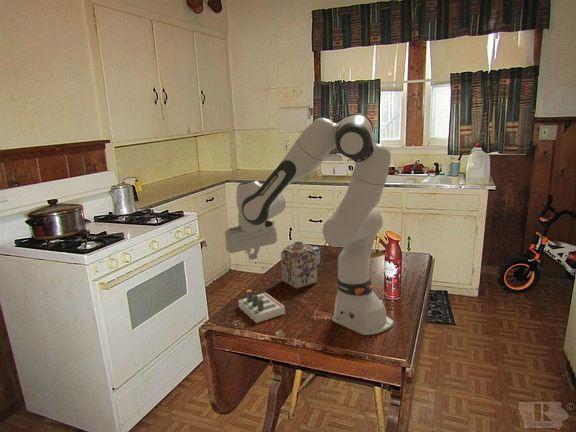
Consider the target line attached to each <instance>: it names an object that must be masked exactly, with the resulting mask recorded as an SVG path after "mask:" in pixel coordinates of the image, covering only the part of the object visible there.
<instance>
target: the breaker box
mask: <svg viewBox="0 0 576 432" xmlns="http://www.w3.org/2000/svg"><path fill="white" fill-rule="evenodd" d="M238 308H239V309H240V310H241V311H242V312H244V314H246V315H247V316H248V317H249V318H250V319H251V320H252V321H254V322H255V324H258V323H261V322H264V321H266V320H267V321H268V320H271V319H274V318H276V317H280V316H282V315H285V314H286V309H285V305H283V304H282V303H280V302H279V301H278V300H277V299H275V298H274V297H272V296H271V295H270V294H268V293H267V292H263V293H258V294H252V301H248V300H247V297H245V298H241V299H238Z"/></svg>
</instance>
